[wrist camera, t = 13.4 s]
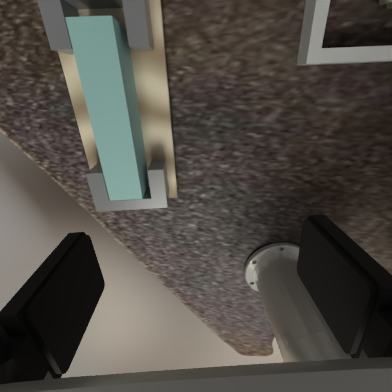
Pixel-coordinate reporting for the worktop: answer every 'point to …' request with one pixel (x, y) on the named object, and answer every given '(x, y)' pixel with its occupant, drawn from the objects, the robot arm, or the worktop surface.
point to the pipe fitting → (389, 0)
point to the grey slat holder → (140, 42)
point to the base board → (146, 95)
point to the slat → (111, 102)
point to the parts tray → (317, 55)
